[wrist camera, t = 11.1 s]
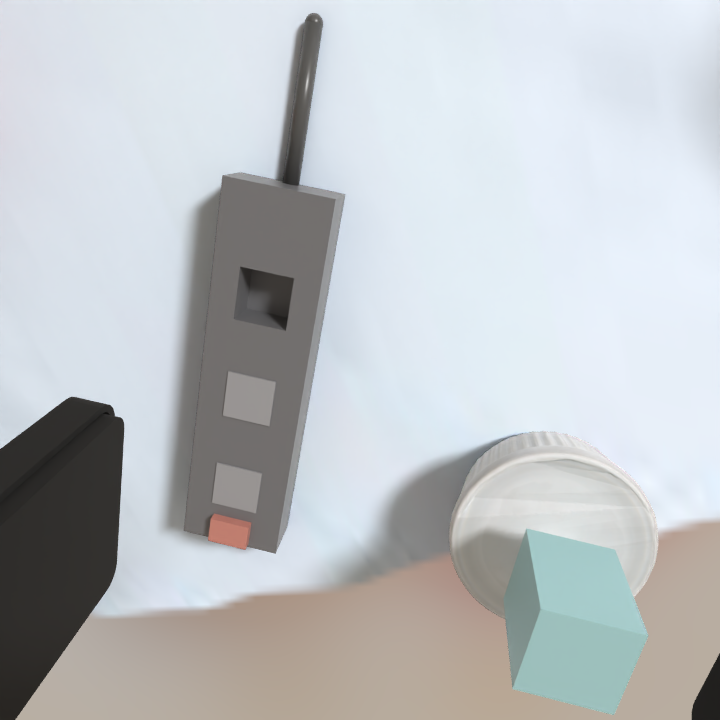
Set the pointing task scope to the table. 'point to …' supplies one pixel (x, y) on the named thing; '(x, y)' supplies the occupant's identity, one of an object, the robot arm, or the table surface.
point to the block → (571, 622)
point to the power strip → (262, 339)
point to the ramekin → (546, 510)
